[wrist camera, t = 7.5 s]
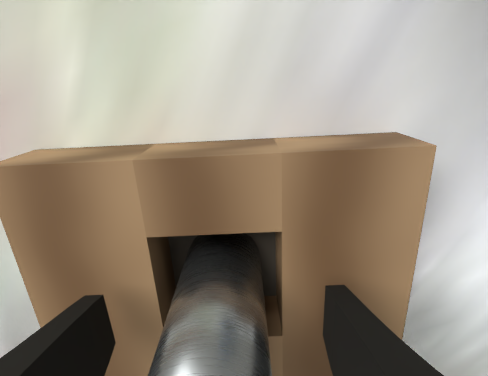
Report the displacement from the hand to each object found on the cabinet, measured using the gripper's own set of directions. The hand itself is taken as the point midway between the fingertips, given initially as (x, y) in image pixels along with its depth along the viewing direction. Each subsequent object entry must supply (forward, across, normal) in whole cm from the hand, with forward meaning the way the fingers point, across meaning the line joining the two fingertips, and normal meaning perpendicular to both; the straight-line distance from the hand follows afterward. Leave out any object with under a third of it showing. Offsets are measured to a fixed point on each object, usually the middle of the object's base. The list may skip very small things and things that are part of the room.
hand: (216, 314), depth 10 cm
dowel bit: (+3, 0, 0) cm, 4 cm away
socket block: (+4, 0, 0) cm, 4 cm away
